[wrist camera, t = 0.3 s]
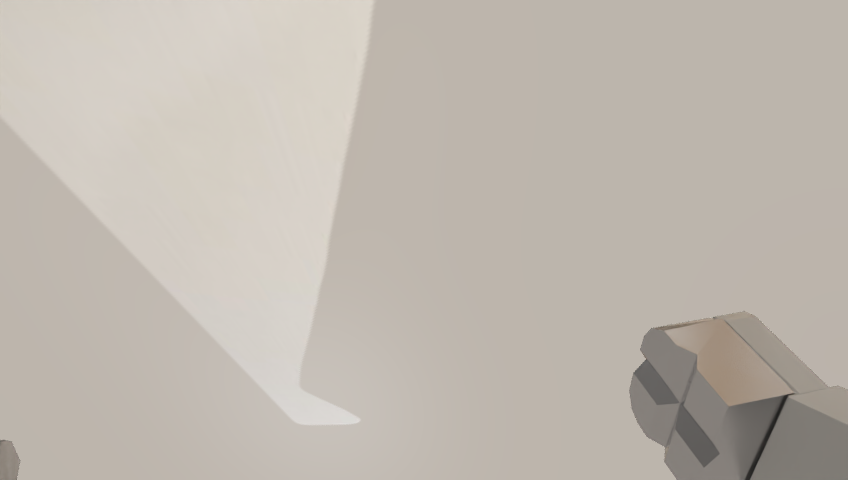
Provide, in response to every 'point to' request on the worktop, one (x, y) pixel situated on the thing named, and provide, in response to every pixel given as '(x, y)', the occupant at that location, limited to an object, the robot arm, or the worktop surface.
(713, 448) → the robot arm
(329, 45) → the worktop surface
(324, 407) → the worktop surface
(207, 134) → the worktop surface
